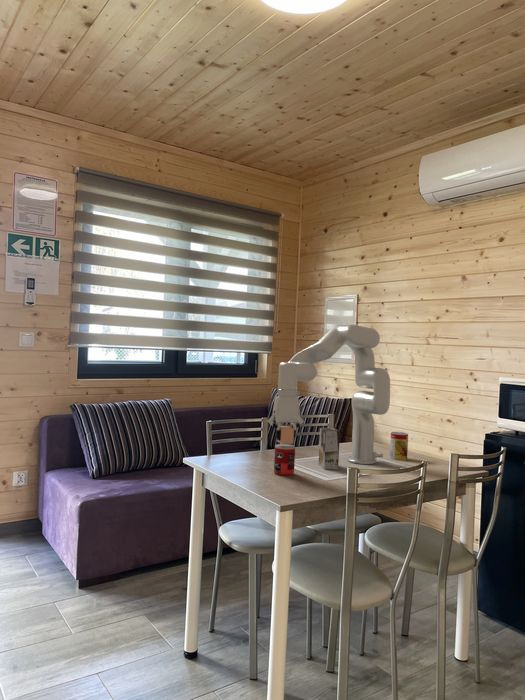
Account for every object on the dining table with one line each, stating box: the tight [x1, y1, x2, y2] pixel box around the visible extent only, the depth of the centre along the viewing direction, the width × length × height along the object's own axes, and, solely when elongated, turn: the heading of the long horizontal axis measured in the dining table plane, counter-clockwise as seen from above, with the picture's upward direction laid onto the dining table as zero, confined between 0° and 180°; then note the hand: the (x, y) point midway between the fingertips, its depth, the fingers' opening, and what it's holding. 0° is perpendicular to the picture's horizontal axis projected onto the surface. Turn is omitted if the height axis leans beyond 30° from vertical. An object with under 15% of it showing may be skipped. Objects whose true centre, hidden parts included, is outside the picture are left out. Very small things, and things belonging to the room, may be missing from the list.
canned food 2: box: [389, 431, 409, 462], centre depth 245 cm, size 8×8×12 cm
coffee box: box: [318, 427, 341, 470], centre depth 221 cm, size 9×6×16 cm
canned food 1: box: [273, 443, 296, 477], centre depth 206 cm, size 8×8×11 cm
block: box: [276, 425, 295, 445], centre depth 206 cm, size 5×5×6 cm
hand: (285, 439), depth 206 cm, fingers closed on block, 5 cm apart
